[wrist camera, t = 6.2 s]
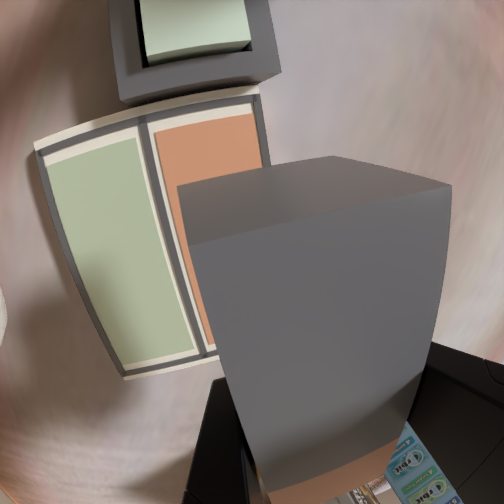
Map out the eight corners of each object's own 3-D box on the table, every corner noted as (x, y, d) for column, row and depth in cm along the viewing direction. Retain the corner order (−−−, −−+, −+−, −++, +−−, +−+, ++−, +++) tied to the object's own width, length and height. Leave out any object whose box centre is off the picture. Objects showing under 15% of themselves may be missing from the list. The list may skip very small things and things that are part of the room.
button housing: (242, -26, 12) (256, -49, 10) (262, 81, 15) (281, 72, 13) (113, -7, 11) (105, -30, 8) (128, 106, 14) (119, 100, 11)
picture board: (251, 87, 15) (258, 84, 14) (286, 327, 22) (293, 338, 21) (41, 141, 13) (32, 142, 12) (125, 369, 20) (124, 382, 19)
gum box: (410, 425, 36) (489, 526, 16) (383, 446, 36) (457, 551, 16) (375, 376, 28) (506, 540, 7) (335, 407, 28) (449, 581, 7)
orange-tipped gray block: (332, 155, 8) (451, 185, 4) (337, 405, 12) (383, 475, 8) (176, 186, 7) (187, 246, 3) (247, 436, 11) (277, 518, 7)
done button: (225, -16, 11) (236, -37, 9) (238, 53, 13) (251, 40, 11) (140, -4, 11) (137, -26, 8) (149, 68, 12) (146, 55, 10)
